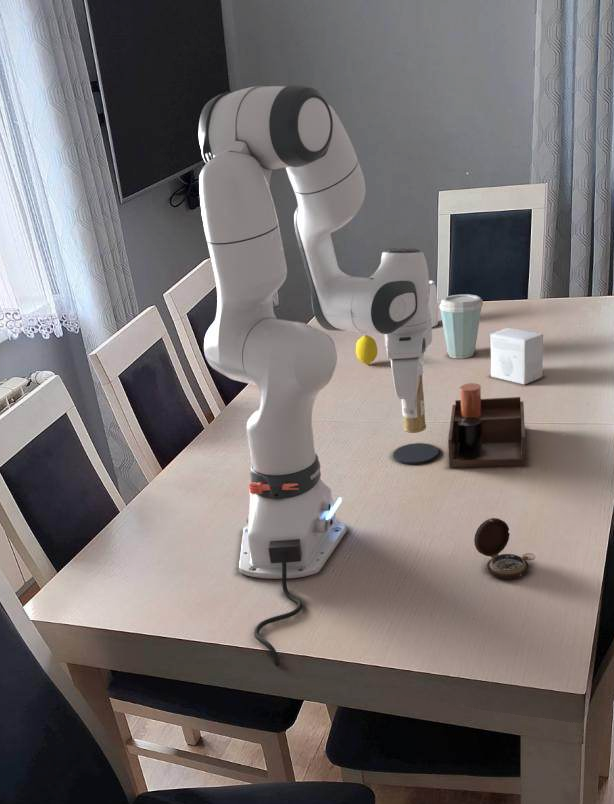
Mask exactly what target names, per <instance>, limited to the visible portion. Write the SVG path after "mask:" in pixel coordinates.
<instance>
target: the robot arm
mask: <svg viewBox="0 0 614 804" xmlns="http://www.w3.org/2000/svg"><path fill="white" fill-rule="evenodd" d="M198 142H199V146H200V150H201V157H202V159H203V161H204V163H205V164H204V165H203V167H202V169H201V170H200V173H199V176H198V177H199V178H198V185H199V186H198V187H199V188H198V189H199V200H200V201H199V202H200V211H201V218H202V224H203V230H204V231H203V232H204V235H205V238H206V239H205V240H206V243H207V248H208V252H209V253H208V254H209V257H210V262H211V267H212V272H213V276H214V280H215V285H216V296H217V297H216V301H217V302H216V313H215V318H214V320H213V322H212V323H211V324H210V326H209V327H208V329H207V330H206V333H205V336H204V340H203V341H204V342H203V352H204V357H205V360H206V361H207V363H208V365H209V366H210V367H211V368H212V369H213V370H214V371H216V372H218V373H219V374H220V375H223V376H225V377H226V378H228V379H229V380H233V381H236V382H240V383H245V384H248V385H253V386H256V387H257V388H258V390H259V394H260V404H259V408H258V409H256V410H255V411H254V412H253V413H252V414H251V415H250V416H249V418H248V420H247V421H246V427H245V429H246V430H245V431H246V436H247V442H248V448H249V454H250V455H249V456H250V460H251V463H250V468H249V469H250V472H249V477H250V479H249V480H250V483H249V490H248V494H249V504H248V505H249V506H248V517H247V518H246V523H247V525H245V526H244V527H243V530H242V538H241V545H240V546H241V547H240V555H239V563H238V570H239V573H240V574H242V575H244V576H247V577H251V578H257V579H258V578H259V579H271V580H273V579H277V580H278V579H280V580H281V586H282V587H281V588H282V591H283V594H284V595H285V596H286V598H287V599H288V600H290V601H291V602H293V603H295V604H297V606H296V608H295V609H293V610H291V611H289V612H286V613H283V614H279V615H276V616H273V617H269V618H266V619H264V620H262V621H260V622H259V623H258V624H257V625H256V626H255V629H254V631H253V635H254V638H255V639H256V640H257V641H258V642H259V643H261V644H262V645H263V646H265V647H266V648H267V649H268V651H269V652H270V653H271V655H272V659H273V662H274V665H275V667H279V666H280V665H281V662H280V658H279V654H278V652H277V651H276V649H275V647H274V646H273V645H272V644H271V643H270V642H269V641H268V640H267V639H265V638H263V636H261V635H260V631H261V629H262V628H263V627H265V626H267V625H269V624H271V623H275V622H278V621H282V620H286V619H289V618H291V617H294V616H296V615H297V614H299V613H300V612H301V610H302V609H303V605H304V604H303V601H302V600H300V599H299V598H297V597H296V596H293V595H292V594H291V593H290V592H289V589H288V583H287V582H288V580H287V579H297V578H304V577H309V576H312V575H315V574H318V573H319V572H320V571H321V570H322V568H323V567H324V565H325V564H326V562H327V560H329V558H330V557H331V555H332V553H333V552H334V550H335V549H336V547H337V546H338V544H339V543H340V542H341V540H342V539H343V537H344V536H345V535H346V533H347V527H346V525H345V524H344V522H343V523H342V522H340V521H337V516H336V510H337V509H338V507H339V506H340V504H342V497H340V496H339V497H338V499H337V500H336V502H335V503H334V499H333V494H332V489H331V488H330V487H329V486H328V485H327V484H326V483H325V482H324V481H323V479H322V478H321V477H322V474H321V463H320V460H319V456H318V454H317V453H316V447H315V438H314V425H313V413H314V406H315V403H316V400H317V397H318V395H319V393H320V392H321V391H322V390H324V389H325V387H327V386H328V384H329V383H330V382H331V380H332V379H333V377H334V375H335V373H336V370H337V364H338V351H337V347H336V344H335V342H334V340H333V338H332V336H330V334H328V333H327V332H325V331H323V330H321V329H318V328H317V327H315V326H312V325H310V324H308V323H305V322H302V321H296V320H295V321H294V320H287V319H281V318H277V316H276V314H275V310H274V298H275V293H276V292H278V291H279V290H280V288H281V287H282V286H283V285H284V283H285V281H286V280H287V277H288V267H287V260H286V256H285V250H284V245H283V239H282V235H281V230H280V224H279V219H278V214H277V210H276V206H275V201H274V199H273V195H272V192H271V187H270V185H271V177H272V173H273V170H280V169H285V170H286V174H287V177H288V180H289V182H290V185H291V187H292V189H293V192H294V195H295V199H296V202H297V206H296V208H295V211H294V215H293V224H294V225H293V226H294V231H295V237H296V241H297V245H298V248H299V251H300V255H301V259H302V262H303V266H304V269H305V274H306V277H307V280H308V284H309V289H310V295H311V296H310V297H311V298H310V299H311V308H312V313H313V315H314V318H315V319H316V321H317V323H318V324H319V325H320V327H322V328H323V329H325V330H327V331H331V332H332V331H336V332H346V331H348V332H355V333H361V334H363V333H364V334H374V335H384V345H385V348H386V358H387V359H388V360H390V366H391V373H392V379H393V385H394V392H395V396H396V398H397V399H398V400H401V399H405V401H406V409H407V410H415V409H416V396H417V391H418V387H419V382H420V373H419V365H420V363H421V364H422V367H423V368H424V363H425V353H426V352H427V348H428V347H429V346H430V345H431V344H432V343H433V328H432V324H431V313H430V310H429V306H428V301H429V297H430V285H429V281H430V276H429V267H428V263H427V262H428V261H427V259H426V257H425V254H424V252H423V251H422V250H420V249H418V248H414V247H393V248H392V247H391V248H386V249H385V250H383V251H382V252H381V256H380V264H379V266H378V268H377V269H376V270H375V272H373V274H371V275H370V276H369V277H360V276H352V275H349V274H347V273H345V272H344V271H342V269H340V266H339V263H338V259H337V255H336V251H335V247H334V243H333V239H332V233H334V232H336V231H339V230H340V229H342V228H343V227H344V226H346V225H347V224H348V223H349V222H350V221H351V220H353V218H354V217H355V216H356V215H357V214H358V213H359V211H360V209H361V208H362V206H363V203H364V200H365V197H366V192H367V191H366V180H365V176H364V173H363V170H362V168H361V165H360V162H359V159H358V155H357V152H356V150H355V149H354V146H353V144H352V141H351V139H350V136H349V134H348V132H347V130H346V129H345V127H344V124H343V123H342V121H341V120H340V118H339V116H338V115H337V113H336V111H335V109H334V108H333V107H332V106H331V105H330V104H329V103H328V102H327V100H326V99H325V97H324V95H322V94H321V92H320V91H318V90H317V89H315V88H313V87H311V86H309V85H308V86H307V85H304V84H295V83H292V84H289V85H284V86H283V85H271V86H270V85H269V86H265V85H256V86H250V87H246V88H241V89H238V90H235V91H231V90H230V91H225V92H221V93H220V94H218V95H216V96H214V97H212V98H211V99H210V100H209V101H207V102H206V104H205V105H204V106H203V108H202V110H201V113H200V117H199V122H198ZM294 804H297V802H296V801H294Z"/></svg>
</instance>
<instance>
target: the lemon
mask: <svg viewBox="0 0 614 804" xmlns="http://www.w3.org/2000/svg"><path fill="white" fill-rule="evenodd" d="M355 355H356V358H357V359H358V361H360V362H361V363H363V364H365V365H366V366H369V365H370V364H371V363H372V362H374V361H375V360H376V358H377V355H378V346H377V342H376V340H375V339H374V338H373V337H372V336H369V335H367V334H364V335H363V336H361V337H360V338H359V339H357V341H356V344H355Z"/></svg>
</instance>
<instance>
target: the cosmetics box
mask: <svg viewBox="0 0 614 804" xmlns="http://www.w3.org/2000/svg"><path fill="white" fill-rule="evenodd" d="M489 336H490V337H489V338H490V377H491V378H495V379H498V380H499V379H500V380H504V381H509V382H513V383H517V384H520V385H527V384H530V383H532V382H533V381H536V380H538V379H541V378H542V377H543V367H544V366H543V361H544V360H543V359H544V356H543V355H544V334H543V333H540V332H536V331H535V332H534V331H529V330H524V329H519V328H513V327H505V328H502V329H500V330H497V331H494V332H492V333H490V335H489Z"/></svg>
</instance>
